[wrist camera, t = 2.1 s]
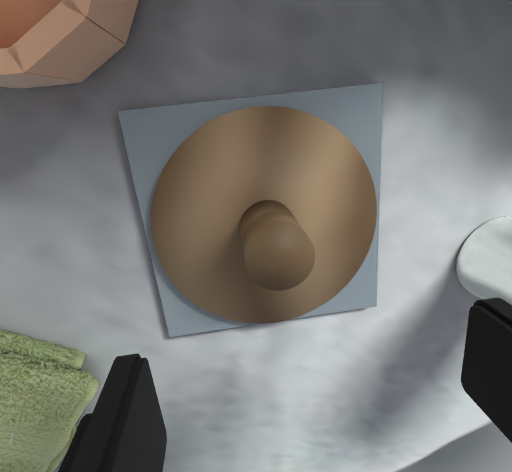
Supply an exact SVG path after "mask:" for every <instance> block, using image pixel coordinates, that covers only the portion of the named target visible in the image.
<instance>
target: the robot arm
mask: <svg viewBox="0 0 512 472" xmlns="http://www.w3.org/2000/svg"><path fill="white" fill-rule="evenodd" d="M461 383H462V386H463V388H464V390H465V392H466V393H467V394H468V395H469V396H470V397H471V398H472V400H473V401H474V402H475V403H476V404H477V405H478V406H479V407H480V408H481V409H482V411H483V412H484V413H485V414H486V415H487V416H488V417H489V418H490V419H491V421H492V422H493V423H494V424H495V425H496V426H497V427H498V428H499V429H500V430H501V431H502V433H503V434H504V435H505V436H506V437H507V438H508V439H509V440H510V441H511V442H512V305H511V304H509V303H508V302H506V301H505V300H503V299H501V298H497V297H495V298H489V299H482V300H478V301H476V302H475V303H474V306H472V307H471V308H470V311H469V319H468V327H467V335H466V343H465V350H464V358H463V366H462V374H461ZM166 443H167V436H166V429H165V425H164V421H163V417H162V413H161V409H160V406H159V402H158V398H157V394H156V390H155V386H154V382H153V378H152V375H151V371H150V367H149V363H148V360H147V358H141V357H140V355H139V354H131V355H124V356H118V357H116V358H115V360H114V362H113V365H112V367H111V370H110V372H109V374H108V377H107V379H106V382H105V384H104V387H103V389H102V391H101V394H100V396H99V399H98V401H97V404H96V406H95V409H94V411H93V413H91V414H86V415H85V416H84V417H83V418H82V420H81V421H80V423H79V425H78V428H77V430H76V432H75V434H74V437H73V439H72V441H71V444H70V446H69V448H68V450H67V453H66V455H65V457H64V459H63V462H62V464H61V466H60V469H59V471H58V472H162V471H163V464H164V458H165V451H166Z"/></svg>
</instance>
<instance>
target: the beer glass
mask: <svg viewBox="0 0 512 472" xmlns="http://www.w3.org/2000/svg"><path fill="white" fill-rule="evenodd" d="M456 273H457V277H458V280H459V282H460V283H461V285H462V286H463V287H464V288H465V289H466V290H467V291H468V292H470V293H471V294H473V295H475V296H477V297H479V298H481V299H489V298H495V297H497V298H501V299H503V300H505V301H506V302H508V303H509V304H511V305H512V216H504V217H499V218H496V219H493V220H490V221H488V222H486V223H485V224H483V225H481V226H480V227H479V228H477V229H476V230H475V231H474V232H473V233H472V234H471V235H470V236H469V237H468V238H467V240H466V241H465V242H464V244H463V246H462V248H461V249H460V252H459V254H458V258H457V263H456Z"/></svg>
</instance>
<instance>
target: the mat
mask: <svg viewBox="0 0 512 472" xmlns="http://www.w3.org/2000/svg"><path fill="white" fill-rule="evenodd" d="M382 99H383V83H374V84H365V85H355V86H346V87H337V88H327V89H318V90H309V91H299V92H290V93H280V94H271V95H262V96H252V97H243V98H234V99H224V100H215V101H206V102H196V103H187V104H178V105H168V106H159V107H150V108H140V109H131V110H121V111H117V113H118V117H119V121H120V126H121V130H122V134H123V139H124V143H125V147H126V152H127V156H128V160H129V164H130V169H131V173H132V177H133V182H134V186H135V190H136V195H137V199H138V203H139V208H140V212H141V216H142V221H143V225H144V229H145V234H146V238H147V242H148V247H149V251H150V255H151V259H152V264H153V268H154V272H155V277H156V281H157V285H158V290H159V294H160V298H161V303H162V307H163V311H164V316H165V320H166V324H167V329H168V333H169V337H175V336H182V335H188V334H195V333H202V332H208V331H215V330H222V329H228V328H235V327H242V326H248V325H255V324H262V323H246V322H238V321H234V320H230V319H226V318H223V317H220V316H217V315H215V314H212V313H210V312H208V311H206V310H204V309H203V308H201V307H199V306H198V305H196V304H195V303H193V302H192V301H191V300H189V299H188V298H187V297H186V296H185V295H184V294H182V293H181V292H180V291H179V290H178V289H177V287H176V286H175V285H174V284H173V283H172V281H171V280H170V279H169V277H168V276H167V274H166V272H165V271H164V269H163V268H162V265H161V263H160V261H159V259H158V257H157V254H156V250H155V247H154V244H153V239H152V232H151V207H152V199H153V195H154V192H155V188H156V184H157V182H158V179H159V177H160V175H161V173H162V170H163V168H164V167H165V165H166V164H167V162H168V160H169V159H170V157H171V155H172V154H173V153H174V152H175V151H176V149H177V148H178V147H179V146H180V145H181V143H182V142H183V141H184V140H186V139H187V138H188V137H189V136H190V135H191V134H192V133H193V132H194V131H196V130H197V129H199V128H200V127H201V126H203V125H204V124H206V123H207V122H209V121H211V120H213V119H215V118H217V117H219V116H221V115H223V114H226V113H229V112H232V111H235V110H238V109H244V108H249V107H257V106H278V107H288V108H292V109H296V110H300V111H304V112H307V113H309V114H312V115H314V116H317V117H319V118H321V119H323V120H324V121H326V122H328V123H329V124H331V125H333V126H334V127H335V128H336V129H338V130H339V131H340V132H341V133H343V134H344V135H345V136H346V137H347V138H348V139H349V140H350V141H351V143H352V144H353V145H354V146H355V147H356V149H357V150H358V152H359V153H360V154H361V156H362V157H363V159H364V161H365V163H366V165H367V167H368V169H369V171H370V174H371V177H372V180H373V183H374V188H375V193H376V200H377V218H376V228H375V232H374V236H373V240H372V243H371V246H370V249H369V252H368V254H367V256H366V258H365V260H364V262H363V264H362V265H361V267H360V268H359V270H358V271H357V273H356V274H355V276H354V277H353V278H352V279H351V281H350V282H349V283H348V284H347V285H346V286H345V287H344V288H343V289H342V290H341V291H340V292H339V293H338V294H337V295H336V296H334V297H333V298H332V299H330V300H329V301H328V302H326V303H325V304H323V305H322V306H320V307H318V308H316V309H315V310H313V311H311V312H308V313H306V314H304V315H302V316H298V317H295V318H302V317H309V316H315V315H322V314H329V313H335V312H342V311H349V310H355V309H362V308H369V307H375V306H376V302H377V268H378V234H379V200H380V167H381V133H382ZM295 318H292V319H295Z"/></svg>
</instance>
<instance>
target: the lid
mask: <svg viewBox="0 0 512 472" xmlns="http://www.w3.org/2000/svg"><path fill="white" fill-rule="evenodd" d="M376 218H377V200H376V193H375V188H374V183H373V180H372V177H371V174H370V171H369V169H368V167H367V165H366V163H365V161H364V159H363V157H362V156H361V154H360V153H359V152H358V150H357V149H356V147H355V146H354V145H353V144H352V143H351V141H350V140H349V139H348V138H347V137H346V136H345V135H344V134H343V133H341V132H340V131H339V130H338V129H336V128H335V127H334V126H333V125H331V124H329V123H328V122H326V121H324V120H323V119H321V118H319V117H317V116H314V115H312V114H309V113H307V112H304V111H300V110H296V109H292V108H288V107H278V106H257V107H249V108H244V109H238V110H235V111H232V112H229V113H226V114H223V115H221V116H219V117H217V118H215V119H213V120H211V121H209V122H207V123H206V124H204V125H203V126H201V127H200V128H199V129H197V130H196V131H194V132H193V133H192V134H191V135H190V136H189V137H188V138H187V139H186V140H184V141H183V142H182V143H181V145H180V146H179V147H178V148H177V149H176V151H175V152H174V153H173V154H172V155H171V157H170V159H169V160H168V162H167V164H166V165H165V167H164V168H163V170H162V173H161V175H160V177H159V179H158V182H157V184H156V188H155V192H154V195H153V199H152V207H151V232H152V239H153V244H154V247H155V250H156V254H157V257H158V259H159V261H160V263H161V265H162V268H163V269H164V271H165V272H166V274H167V276H168V277H169V279H170V280H171V281H172V283H173V284H174V285H175V286H176V287H177V289H178V290H179V291H180V292H181V293H182V294H184V295H185V296H186V297H187V298H188V299H189V300H191V301H192V302H193V303H195V304H196V305H198V306H199V307H201V308H203V309H204V310H206V311H208V312H210V313H212V314H215V315H217V316H220V317H223V318H226V319H230V320H234V321H238V322H246V323H272V322H279V321H284V320H289V319H292V318H295V317H298V316H302V315H304V314H306V313H308V312H311V311H313V310H315V309H316V308H318V307H320V306H322V305H323V304H325V303H326V302H328V301H329V300H330V299H332V298H333V297H334V296H336V295H337V294H338V293H339V292H340V291H341V290H342V289H343V288H344V287H345V286H346V285H347V284H348V283H349V282H350V281H351V279H352V278H353V277H354V276H355V274H356V273H357V271H358V270H359V268H360V267H361V265H362V264H363V262H364V260H365V258H366V256H367V254H368V252H369V249H370V246H371V243H372V240H373V236H374V232H375V228H376Z"/></svg>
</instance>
